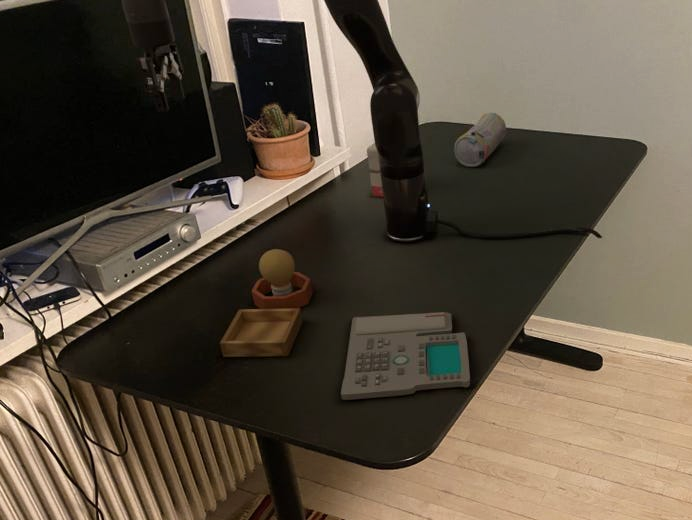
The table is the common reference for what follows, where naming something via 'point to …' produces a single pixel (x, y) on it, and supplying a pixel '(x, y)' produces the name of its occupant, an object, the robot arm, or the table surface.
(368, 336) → the office telephone
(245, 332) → the tray
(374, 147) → the ink box
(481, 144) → the pencil case
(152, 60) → the robot arm
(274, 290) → the light bulb
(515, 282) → the table surface
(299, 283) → the orange octagonal ring
